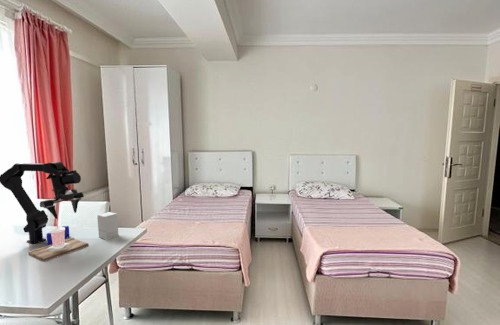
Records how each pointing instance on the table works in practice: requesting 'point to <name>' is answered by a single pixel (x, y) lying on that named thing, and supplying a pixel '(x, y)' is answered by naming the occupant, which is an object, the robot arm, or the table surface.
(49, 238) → the cable clip
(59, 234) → the beverage cup
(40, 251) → the board
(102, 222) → the supplement box
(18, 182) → the robot arm
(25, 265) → the table surface
